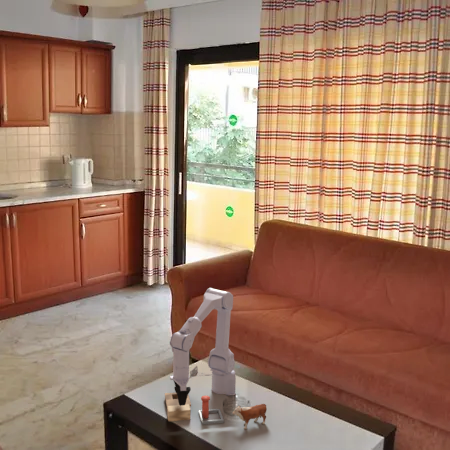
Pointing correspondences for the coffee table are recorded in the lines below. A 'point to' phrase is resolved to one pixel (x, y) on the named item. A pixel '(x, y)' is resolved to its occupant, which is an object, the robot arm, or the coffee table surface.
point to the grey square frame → (211, 420)
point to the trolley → (174, 399)
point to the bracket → (196, 372)
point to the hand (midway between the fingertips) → (180, 399)
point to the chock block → (178, 412)
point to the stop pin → (205, 406)
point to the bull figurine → (251, 413)
